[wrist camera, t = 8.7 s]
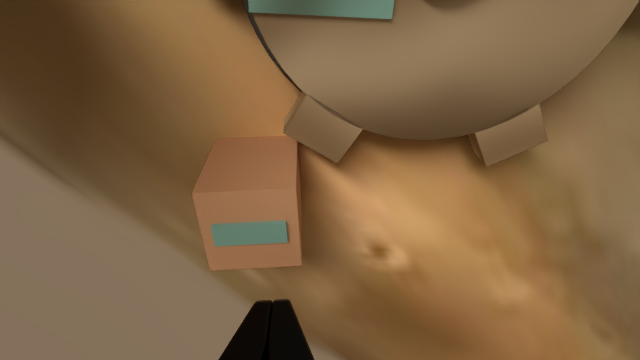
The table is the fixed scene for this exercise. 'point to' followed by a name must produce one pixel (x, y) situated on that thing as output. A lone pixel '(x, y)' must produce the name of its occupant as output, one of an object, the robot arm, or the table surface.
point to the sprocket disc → (432, 66)
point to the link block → (251, 203)
